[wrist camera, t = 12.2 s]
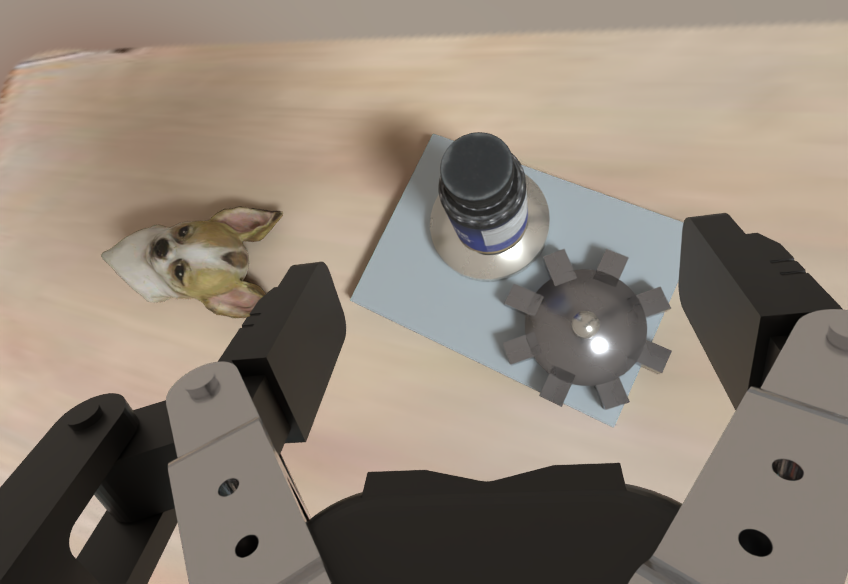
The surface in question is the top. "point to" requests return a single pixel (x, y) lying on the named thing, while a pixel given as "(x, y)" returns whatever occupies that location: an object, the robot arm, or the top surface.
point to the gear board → (484, 301)
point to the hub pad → (500, 264)
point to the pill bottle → (484, 193)
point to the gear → (586, 328)
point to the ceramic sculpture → (196, 260)
